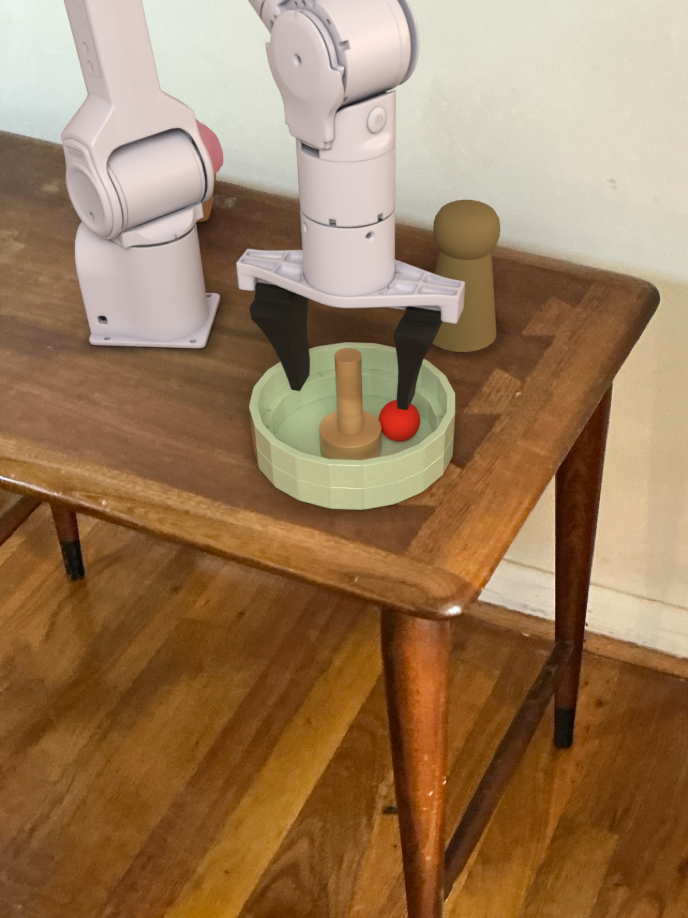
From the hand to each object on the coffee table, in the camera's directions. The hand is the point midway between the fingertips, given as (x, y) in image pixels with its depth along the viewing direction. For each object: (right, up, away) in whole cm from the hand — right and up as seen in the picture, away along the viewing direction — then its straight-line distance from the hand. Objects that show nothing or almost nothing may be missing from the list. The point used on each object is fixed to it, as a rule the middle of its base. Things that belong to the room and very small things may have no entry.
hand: (352, 391), depth 71 cm
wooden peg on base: (0, -4, +3) cm, 5 cm away
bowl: (0, -4, +4) cm, 5 cm away
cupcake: (-18, +20, +28) cm, 39 cm away
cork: (+8, +7, +15) cm, 19 cm away
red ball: (+3, -2, +3) cm, 4 cm away
